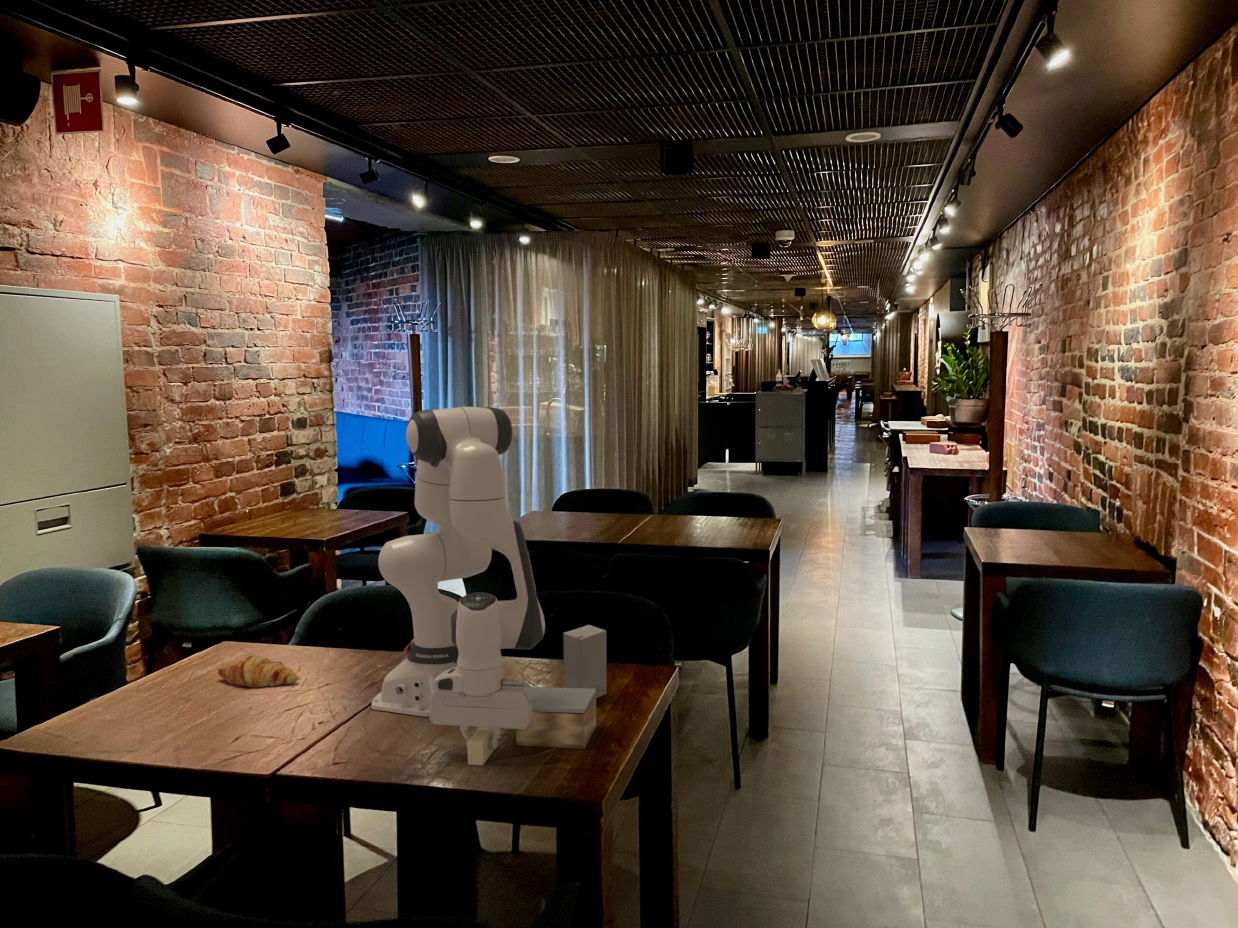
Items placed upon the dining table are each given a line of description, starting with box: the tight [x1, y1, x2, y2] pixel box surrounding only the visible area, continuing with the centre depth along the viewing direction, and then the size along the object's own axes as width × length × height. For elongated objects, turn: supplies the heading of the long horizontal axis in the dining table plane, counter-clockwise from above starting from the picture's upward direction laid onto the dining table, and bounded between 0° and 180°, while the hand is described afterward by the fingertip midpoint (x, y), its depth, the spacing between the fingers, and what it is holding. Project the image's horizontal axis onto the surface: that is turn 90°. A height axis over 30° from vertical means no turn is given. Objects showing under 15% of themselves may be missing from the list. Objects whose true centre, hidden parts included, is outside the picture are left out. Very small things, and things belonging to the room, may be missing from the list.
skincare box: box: [563, 624, 608, 699], centre depth 211 cm, size 8×7×16 cm
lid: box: [531, 686, 596, 713], centre depth 188 cm, size 15×12×1 cm
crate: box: [515, 694, 598, 750], centre depth 189 cm, size 14×12×7 cm
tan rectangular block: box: [466, 727, 496, 766], centre depth 179 cm, size 3×9×4 cm, turn 172°
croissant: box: [217, 655, 299, 688], centre depth 225 cm, size 21×10×8 cm, turn 81°
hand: (482, 746), depth 179 cm, fingers closed on tan rectangular block, 3 cm apart
